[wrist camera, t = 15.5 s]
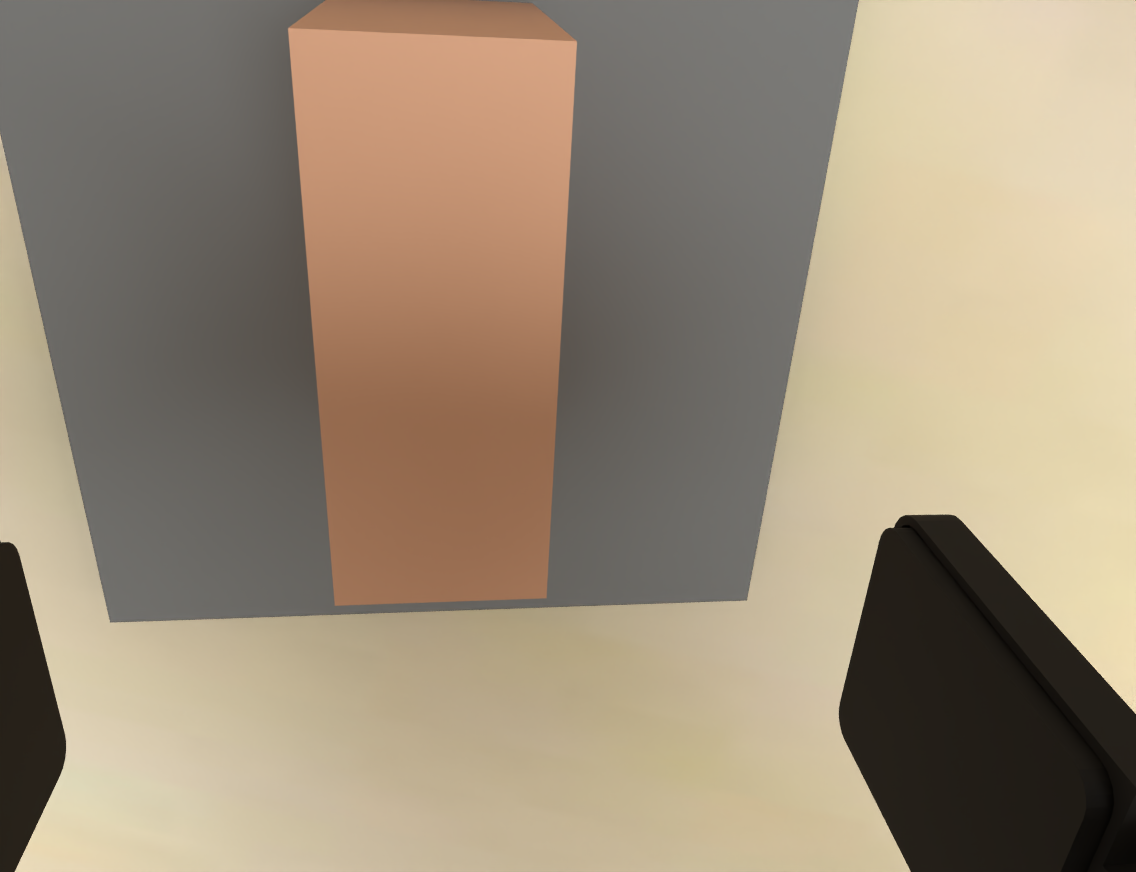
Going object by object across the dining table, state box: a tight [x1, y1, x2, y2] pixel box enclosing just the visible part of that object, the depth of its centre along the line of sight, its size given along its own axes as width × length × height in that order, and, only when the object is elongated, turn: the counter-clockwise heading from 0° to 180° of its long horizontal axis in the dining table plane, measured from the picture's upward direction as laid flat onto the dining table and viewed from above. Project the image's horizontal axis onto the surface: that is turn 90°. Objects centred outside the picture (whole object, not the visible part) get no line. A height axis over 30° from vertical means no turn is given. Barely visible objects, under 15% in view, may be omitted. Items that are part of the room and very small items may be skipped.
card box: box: [288, 0, 577, 606], centre depth 19 cm, size 4×10×7 cm, turn 177°
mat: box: [0, 0, 859, 622], centre depth 22 cm, size 22×18×1 cm
